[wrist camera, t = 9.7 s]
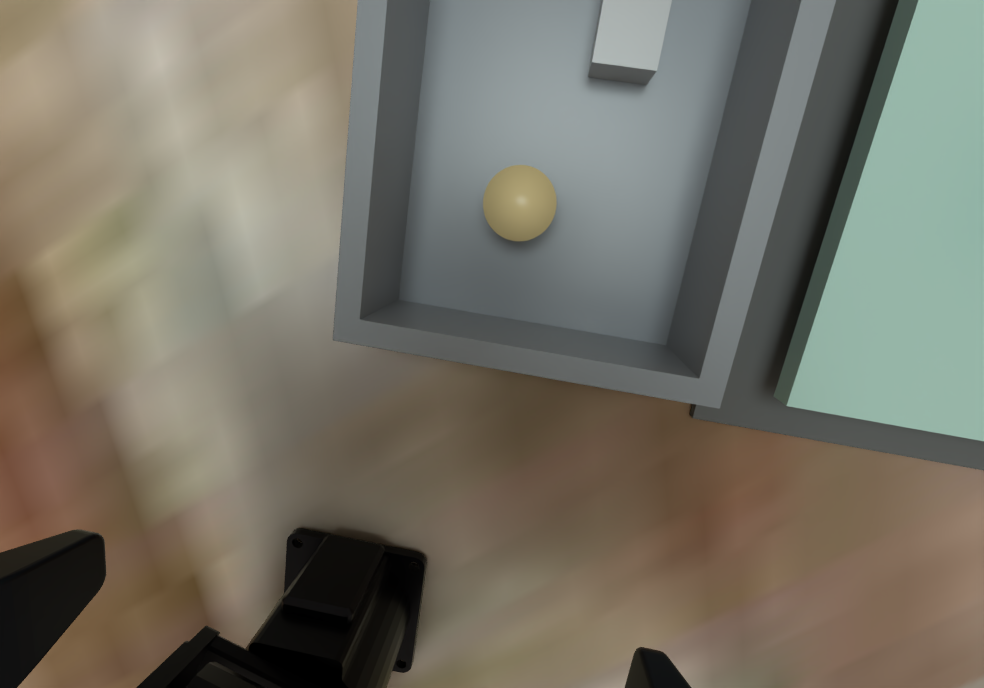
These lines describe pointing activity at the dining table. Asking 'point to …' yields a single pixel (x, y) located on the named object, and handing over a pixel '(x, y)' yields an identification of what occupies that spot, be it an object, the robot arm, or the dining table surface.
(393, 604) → the robot arm
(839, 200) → the lid
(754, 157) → the tub
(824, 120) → the mat
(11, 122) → the dining table surface
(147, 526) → the dining table surface
